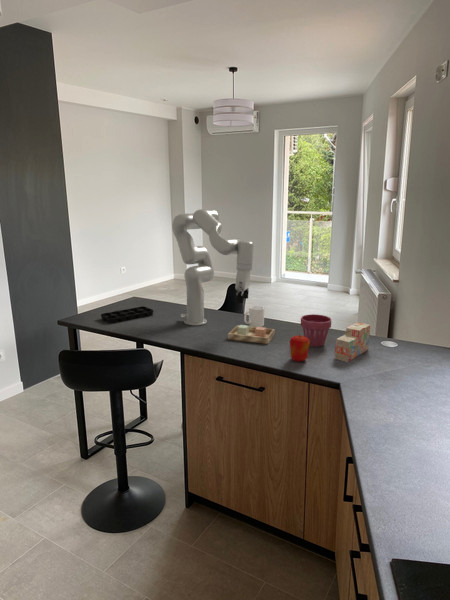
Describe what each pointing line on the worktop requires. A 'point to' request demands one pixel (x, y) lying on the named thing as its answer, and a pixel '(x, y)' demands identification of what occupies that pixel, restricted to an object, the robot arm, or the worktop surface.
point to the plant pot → (316, 328)
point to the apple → (299, 348)
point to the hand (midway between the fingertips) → (242, 300)
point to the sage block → (243, 330)
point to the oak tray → (251, 336)
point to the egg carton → (126, 314)
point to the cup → (255, 316)
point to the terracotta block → (260, 331)
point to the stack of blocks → (352, 342)
